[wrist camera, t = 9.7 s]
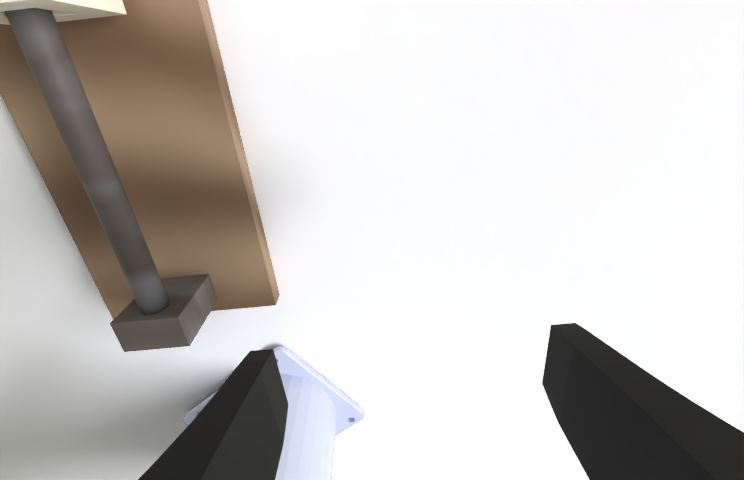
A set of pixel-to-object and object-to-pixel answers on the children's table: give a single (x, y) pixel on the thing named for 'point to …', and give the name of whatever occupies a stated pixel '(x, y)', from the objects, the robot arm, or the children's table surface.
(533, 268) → the children's table surface
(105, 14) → the sleeve
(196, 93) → the rod board
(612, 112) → the children's table surface
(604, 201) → the children's table surface
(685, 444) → the robot arm
